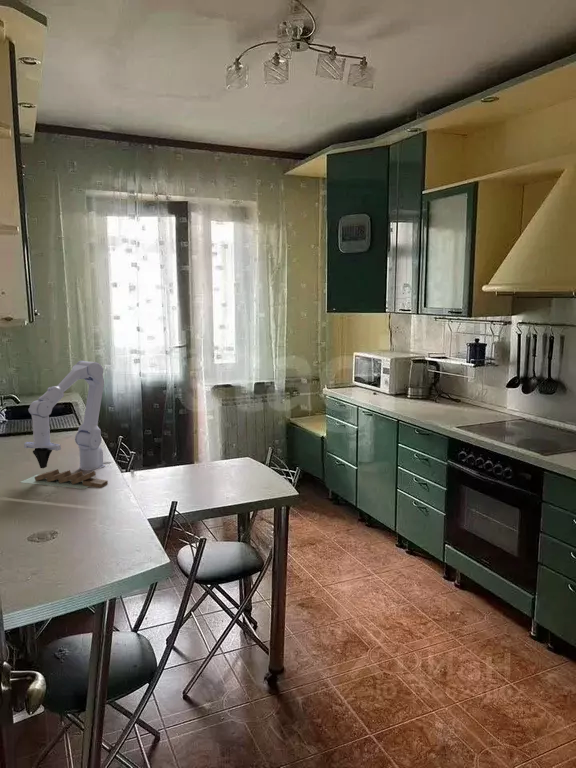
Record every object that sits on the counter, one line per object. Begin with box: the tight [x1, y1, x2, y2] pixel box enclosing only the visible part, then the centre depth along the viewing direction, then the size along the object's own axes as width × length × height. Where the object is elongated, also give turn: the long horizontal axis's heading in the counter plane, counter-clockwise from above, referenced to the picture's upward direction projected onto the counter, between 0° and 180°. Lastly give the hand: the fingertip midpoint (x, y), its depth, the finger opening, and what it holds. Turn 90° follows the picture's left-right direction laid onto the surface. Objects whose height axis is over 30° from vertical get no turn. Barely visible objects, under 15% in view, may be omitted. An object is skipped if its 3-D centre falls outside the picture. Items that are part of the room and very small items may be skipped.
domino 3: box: [58, 470, 84, 483], centre depth 217 cm, size 4×2×8 cm
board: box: [20, 474, 91, 490], centre depth 219 cm, size 10×28×1 cm, turn 75°
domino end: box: [83, 477, 109, 489], centre depth 215 cm, size 4×2×8 cm
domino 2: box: [46, 469, 72, 482], centre depth 218 cm, size 4×2×8 cm
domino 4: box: [71, 470, 96, 485], centre depth 216 cm, size 4×2×8 cm
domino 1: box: [35, 469, 60, 481], centre depth 220 cm, size 4×2×8 cm
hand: (43, 467), depth 220 cm, fingers closed
